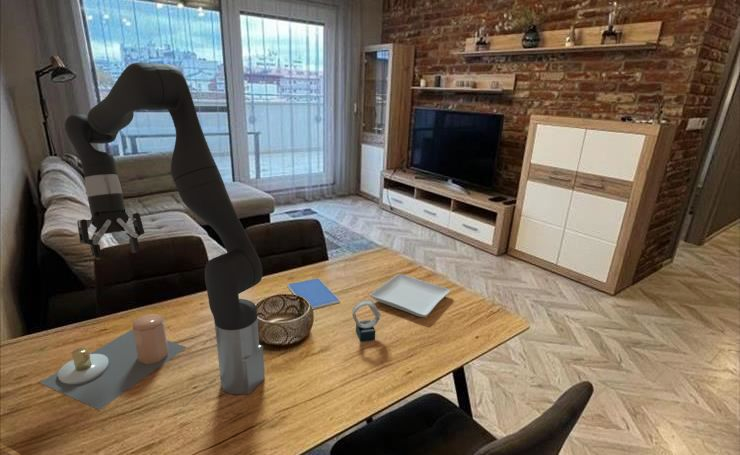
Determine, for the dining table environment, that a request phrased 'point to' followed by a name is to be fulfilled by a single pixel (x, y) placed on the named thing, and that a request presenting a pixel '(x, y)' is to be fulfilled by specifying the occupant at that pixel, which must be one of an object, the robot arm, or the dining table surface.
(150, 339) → the domed octagonal post
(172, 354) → the rubber mat
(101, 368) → the saucer
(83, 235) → the robot arm
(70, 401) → the dining table surface
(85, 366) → the brass weight
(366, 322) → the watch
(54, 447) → the dining table surface
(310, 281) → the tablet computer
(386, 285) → the salad plate
